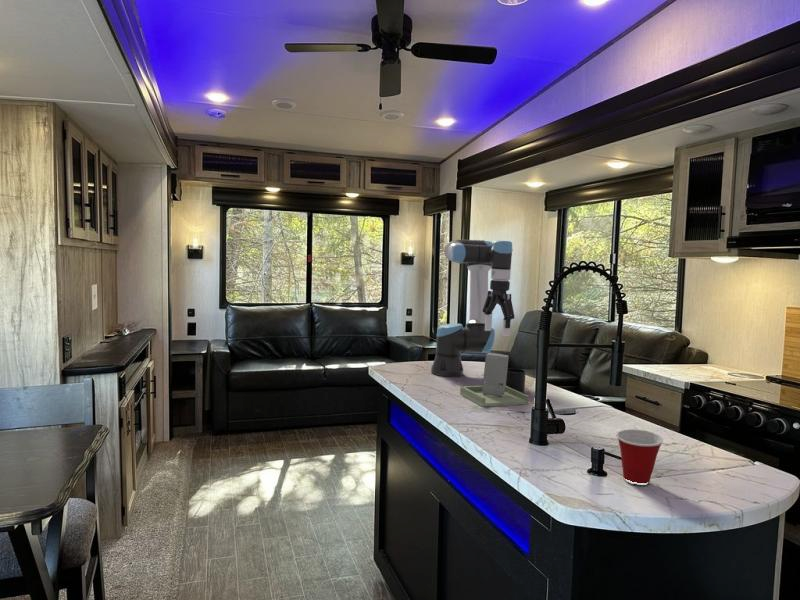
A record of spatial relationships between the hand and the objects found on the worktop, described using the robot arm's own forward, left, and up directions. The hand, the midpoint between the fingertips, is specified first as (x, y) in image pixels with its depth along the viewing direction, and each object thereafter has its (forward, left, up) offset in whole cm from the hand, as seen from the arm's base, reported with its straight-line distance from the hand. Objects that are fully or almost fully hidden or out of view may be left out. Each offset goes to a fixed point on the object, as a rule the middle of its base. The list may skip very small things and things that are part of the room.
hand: (496, 333), depth 213 cm
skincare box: (+2, -1, -24) cm, 24 cm away
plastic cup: (+83, -8, -25) cm, 87 cm away
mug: (-6, +12, -25) cm, 29 cm away
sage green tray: (+5, -3, -25) cm, 26 cm away
